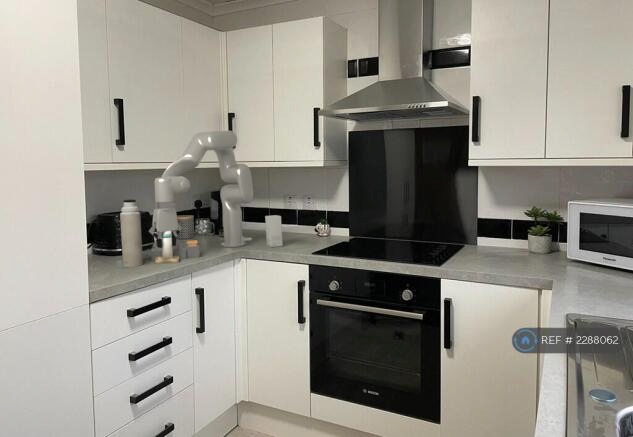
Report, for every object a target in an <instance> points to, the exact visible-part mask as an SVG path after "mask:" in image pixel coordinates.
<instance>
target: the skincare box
mask: <svg viewBox="0 0 633 437" xmlns="http://www.w3.org/2000/svg"><path fill="white" fill-rule="evenodd" d="M264 218H265V237H266V246H267V247H270V248H279V247H280V248H281V247H284V246H283V228H282V216H281V215H278V214H277V215H276V214H275V215H265V216H264Z"/></svg>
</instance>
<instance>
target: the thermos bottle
mask: <svg viewBox="0 0 633 437" xmlns="http://www.w3.org/2000/svg"><path fill="white" fill-rule="evenodd" d="M136 202H137V200H136V199H123V207H121V210H120V211H121V212H120V213H119V214H120V215H119V219H120V220H119V221H120V236H121V250H122V251H121V252H122V256H121V257H122V266H123V267H127V268H133V267H134V268H135V267H139V266H140V267H141V266H142V265H144V259H143V245H142V244H143V240H142V239H143V238H142V227H141V226H142V223H141V221H142V220H141V212H139V207H138V206H137V203H136Z"/></svg>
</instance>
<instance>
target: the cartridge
mask: <svg viewBox="0 0 633 437" xmlns="http://www.w3.org/2000/svg"><path fill="white" fill-rule="evenodd" d="M161 239H162V259H173V252H172V233H171V231H166V232H162V235H161Z"/></svg>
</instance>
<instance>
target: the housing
mask: <svg viewBox="0 0 633 437" xmlns="http://www.w3.org/2000/svg"><path fill="white" fill-rule="evenodd" d="M179 244H180V242H179V241H177V240H176V246H172V252H173V256H179V260H184V259H189V258H200V245H199V244H198V243H196V244H197V246H191V247H188V244H185V246H179ZM156 257H162V248H158V247H157V244H156V243H155V248H151V251H150V258H151V259H150V260H151V261H155V258H156Z"/></svg>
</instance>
